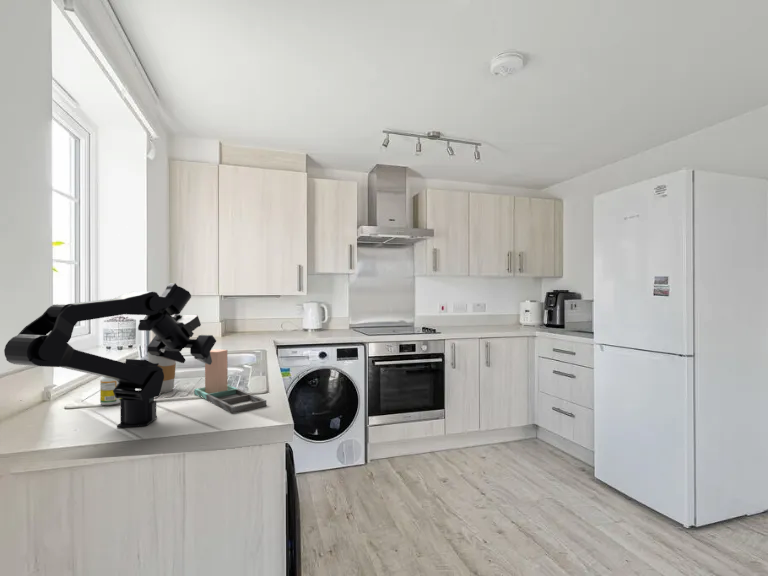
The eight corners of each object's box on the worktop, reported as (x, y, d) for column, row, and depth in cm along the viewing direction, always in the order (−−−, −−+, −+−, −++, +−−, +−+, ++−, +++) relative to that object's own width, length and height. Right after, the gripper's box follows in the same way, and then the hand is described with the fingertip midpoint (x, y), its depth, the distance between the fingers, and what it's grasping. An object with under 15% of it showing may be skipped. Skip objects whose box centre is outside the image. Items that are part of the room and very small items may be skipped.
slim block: (217, 395, 120) (217, 352, 120) (205, 394, 121) (205, 351, 121) (227, 391, 124) (227, 349, 124) (215, 390, 126) (215, 349, 126)
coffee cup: (140, 393, 124) (140, 344, 124) (161, 386, 132) (161, 341, 132) (163, 394, 122) (163, 345, 122) (183, 388, 130) (183, 342, 130)
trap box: (266, 405, 110) (266, 400, 110) (232, 413, 103) (232, 407, 103) (225, 388, 130) (225, 383, 130) (194, 393, 123) (194, 388, 123)
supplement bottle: (107, 406, 110) (107, 371, 110) (95, 404, 112) (95, 369, 112) (127, 401, 115) (127, 367, 115) (115, 399, 117) (115, 366, 117)
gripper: (211, 305, 107) (237, 341, 118) (155, 305, 113) (185, 339, 123) (189, 338, 100) (219, 373, 110) (130, 336, 105) (165, 369, 116)
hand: (197, 362), depth 115 cm, fingers open, 9 cm apart
